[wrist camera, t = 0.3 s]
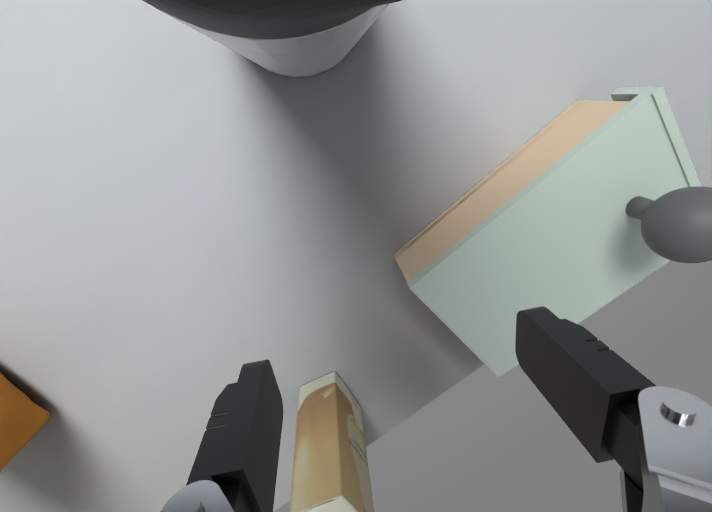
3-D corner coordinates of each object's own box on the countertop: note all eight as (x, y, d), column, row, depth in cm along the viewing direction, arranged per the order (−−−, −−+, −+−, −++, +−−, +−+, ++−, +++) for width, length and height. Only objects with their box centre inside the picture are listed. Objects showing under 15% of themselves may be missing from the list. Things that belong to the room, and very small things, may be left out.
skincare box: (361, 406, 37) (382, 539, 26) (326, 422, 37) (330, 560, 26) (334, 367, 34) (343, 497, 23) (295, 385, 34) (286, 521, 23)
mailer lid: (482, 353, 32) (540, 442, 23) (399, 268, 27) (436, 343, 19) (676, 215, 28) (826, 266, 19) (618, 87, 23) (786, 83, 15)
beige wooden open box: (468, 332, 34) (492, 368, 30) (393, 254, 29) (407, 283, 25) (633, 211, 30) (689, 231, 26) (576, 100, 26) (632, 101, 21)
